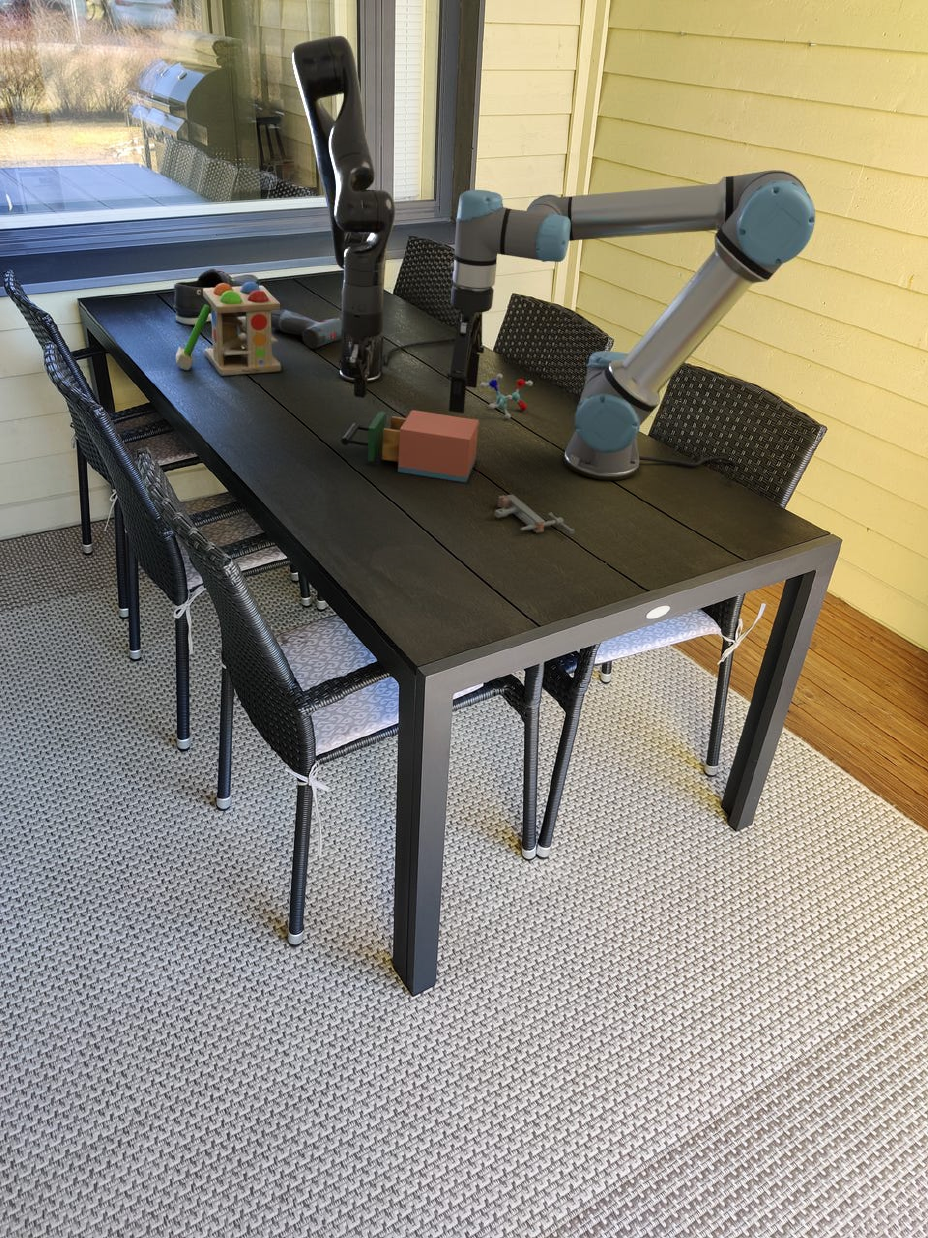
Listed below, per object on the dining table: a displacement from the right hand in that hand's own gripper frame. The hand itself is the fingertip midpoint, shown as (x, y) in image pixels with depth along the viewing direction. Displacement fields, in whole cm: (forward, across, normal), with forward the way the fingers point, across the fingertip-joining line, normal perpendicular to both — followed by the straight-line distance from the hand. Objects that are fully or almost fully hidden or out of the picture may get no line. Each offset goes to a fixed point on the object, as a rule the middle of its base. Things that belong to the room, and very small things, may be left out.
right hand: (463, 398), depth 186 cm
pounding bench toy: (+15, -36, -62) cm, 73 cm away
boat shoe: (+15, -74, -79) cm, 110 cm away
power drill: (+15, -65, -51) cm, 84 cm away
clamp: (+15, +18, +17) cm, 28 cm away
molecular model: (+15, -33, +4) cm, 37 cm away
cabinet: (+15, 0, -4) cm, 15 cm away
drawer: (+14, 0, -14) cm, 19 cm away
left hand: (+2, 0, -20) cm, 20 cm away
